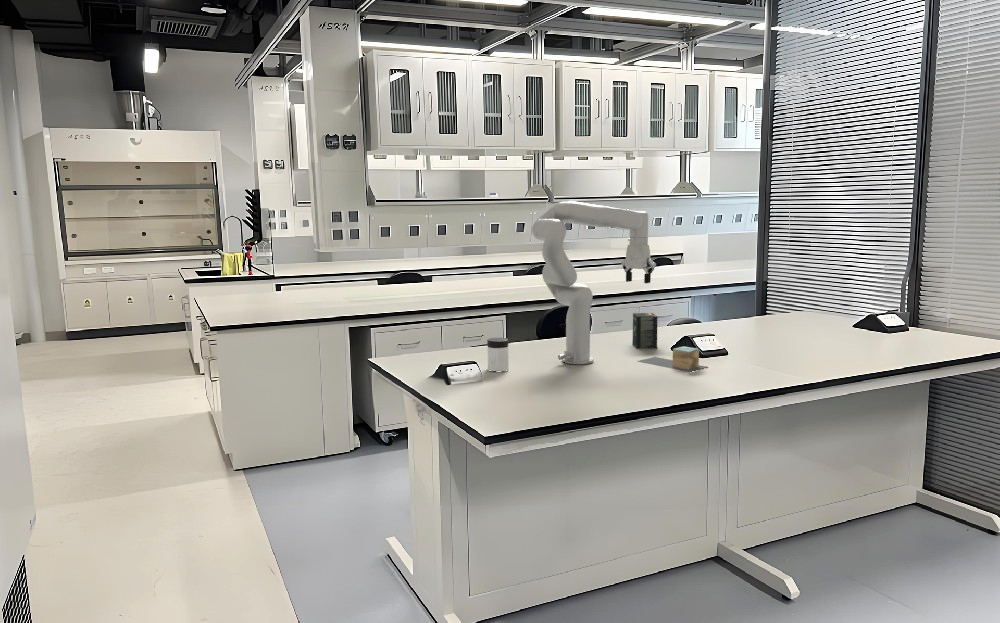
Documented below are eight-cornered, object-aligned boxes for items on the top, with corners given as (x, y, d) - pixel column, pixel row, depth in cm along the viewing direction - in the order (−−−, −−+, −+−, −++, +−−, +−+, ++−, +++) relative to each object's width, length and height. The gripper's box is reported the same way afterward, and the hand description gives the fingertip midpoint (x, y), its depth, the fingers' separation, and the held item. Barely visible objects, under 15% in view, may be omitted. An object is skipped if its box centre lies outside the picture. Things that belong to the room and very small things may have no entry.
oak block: (672, 348, 268) (672, 366, 269) (688, 351, 263) (687, 369, 264) (683, 346, 273) (683, 363, 274) (699, 348, 267) (698, 366, 268)
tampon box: (657, 349, 304) (658, 316, 302) (636, 349, 304) (636, 316, 302) (652, 344, 315) (653, 312, 313) (632, 344, 315) (632, 312, 313)
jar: (482, 371, 268) (482, 340, 266) (493, 366, 275) (492, 336, 273) (503, 373, 263) (502, 342, 262) (513, 369, 270) (513, 338, 269)
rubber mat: (689, 372, 261) (689, 371, 260) (636, 362, 279) (636, 361, 279) (707, 367, 268) (707, 366, 268) (654, 357, 287) (654, 356, 287)
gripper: (616, 241, 294) (616, 281, 296) (649, 242, 281) (649, 284, 283) (628, 240, 299) (627, 280, 301) (661, 241, 285) (660, 283, 288)
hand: (638, 282), depth 292 cm, fingers open, 9 cm apart
